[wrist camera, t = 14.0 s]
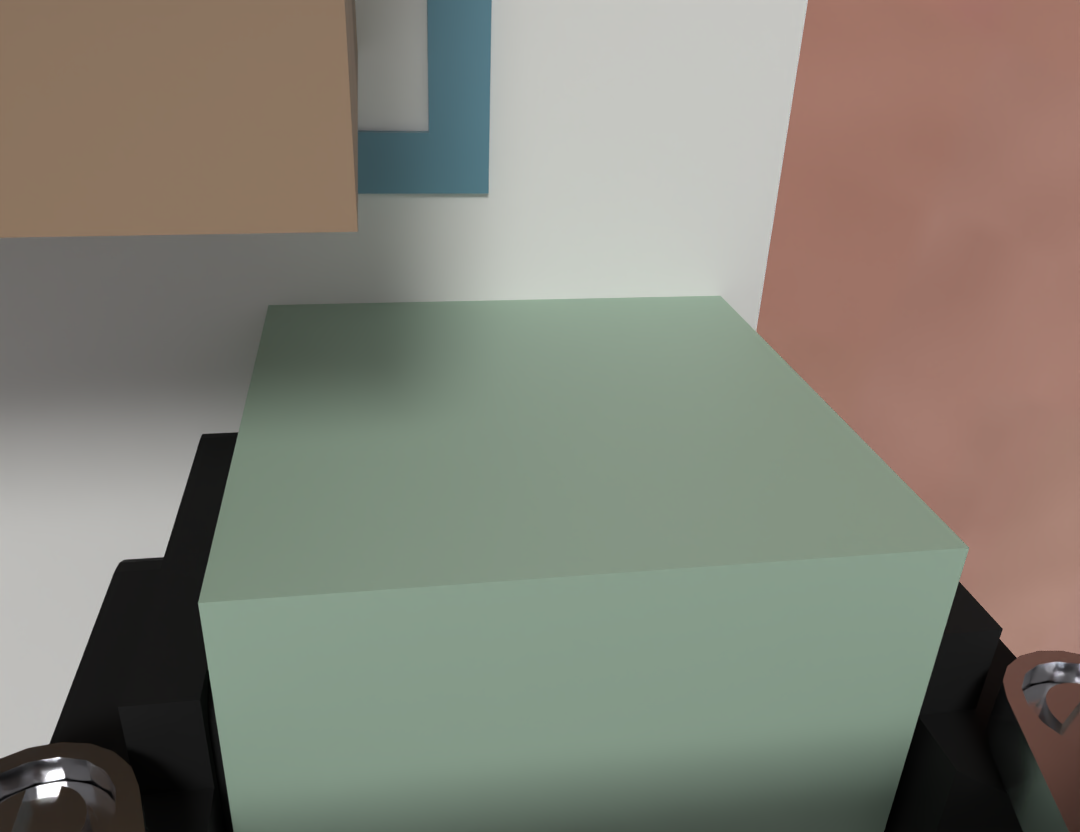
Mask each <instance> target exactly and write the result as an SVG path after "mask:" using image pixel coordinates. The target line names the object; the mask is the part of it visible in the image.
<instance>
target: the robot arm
mask: <svg viewBox="0 0 1080 832" xmlns="http://www.w3.org/2000/svg"><path fill="white" fill-rule="evenodd" d="M237 436H238V432H234V433H210V434H202V436H201V438H200V441H199V444H198V447H197V451H196V454H195V457H194V460H193V464H192V467H191V470H190V473H189V477H188V480H187V483H186V487H185V490H184V493H183V496H182V500H181V503H180V506H179V509H178V513H177V516H176V519H175V522H174V526H173V529H172V532H171V535H170V539H169V542H168V545H167V548H166V552H165V555H164V557H157V558H142V559H126V560H123V561H121V562H119V564H118V566H117V568H116V570H115V571H114V574H113V576H112V579H111V582H110V584H109V587H108V590H107V592H106V595H105V598H104V600H103V603H102V606H101V608H100V611H99V614H98V616H97V619H96V621H95V624H94V627H93V629H92V632H91V635H90V637H89V640H88V643H87V645H86V648H85V651H84V653H83V656H82V659H81V661H80V664H79V667H78V669H77V672H76V675H75V677H74V680H73V682H72V685H71V688H70V690H69V693H68V696H67V698H66V701H65V704H64V706H63V709H62V712H61V714H60V717H59V720H58V722H57V725H56V728H55V730H54V733H53V735H52V738H51V741H50V743H49V744H48V745H42V746H36V747H30V748H27V749H24V750H22V751H19V752H16V753H14V754H11V755H8V756H6V757H3V758H0V832H234V831H233V824H232V818H231V812H230V805H229V799H228V792H227V786H226V779H225V773H224V767H223V760H222V754H221V747H220V741H219V734H218V728H217V722H216V715H215V709H214V702H213V696H212V689H211V683H210V677H209V670H208V664H207V657H206V651H205V644H204V638H203V632H202V625H201V619H200V612H199V606H198V601H199V597H200V593H201V589H202V584H203V580H204V576H205V572H206V567H207V563H208V559H209V555H210V550H211V546H212V542H213V538H214V534H215V529H216V525H217V521H218V517H219V512H220V508H221V504H222V500H223V495H224V491H225V487H226V483H227V479H228V474H229V470H230V466H231V462H232V457H233V453H234V449H235V445H236V440H237ZM1001 632H1002V628H1001V627H1000V626H999V625H998V623H997V622H996V621H995V620H994V619H993V618H992V617H991V616H990V615H989V614H988V613H987V611H986V610H985V609H984V608H983V607H982V606H981V605H980V604H979V603H978V602H977V601H976V599H975V598H974V597H973V596H972V595H971V594H970V593H969V592H968V591H967V590H966V589H965V587H964V586H963V585H962V584H961V583H960V582H959V583H958V586H957V590H956V593H955V596H954V600H953V603H952V606H951V610H950V613H949V616H948V620H947V623H946V626H945V630H944V633H943V636H942V640H941V643H940V646H939V650H938V653H937V656H936V660H935V663H934V666H933V670H932V673H931V676H930V680H929V683H928V686H927V690H926V693H925V697H924V700H923V703H922V707H921V710H920V713H919V717H918V720H917V723H916V727H915V730H914V733H913V737H912V740H911V743H910V747H909V750H908V753H907V757H906V760H905V763H904V767H903V770H902V773H901V777H900V780H899V783H898V787H897V790H896V793H895V797H894V800H893V803H892V807H891V810H890V813H889V817H888V820H887V823H886V827H885V830H884V832H1080V654H1075V653H1070V652H1065V651H1036V652H1033V653H1029V654H1025V655H1022V656H1019V657H1018V658H1016V657H1015V656H1014V655H1013V653H1012V652H1011V651H1010V650H1009V649H1008V648H1007V647H1006V646H1005V645H1004V643H1003V642H1002V641H1001V640H1000V639H999V638H1000V635H1001Z"/></svg>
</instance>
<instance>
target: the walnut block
mask: <svg viewBox="0 0 1080 832" xmlns="http://www.w3.org/2000/svg"><path fill="white" fill-rule="evenodd" d="M316 232H358V48H357V29H356V10H355V0H0V238H16V237H76V236H136V235H196V234H256V233H316Z"/></svg>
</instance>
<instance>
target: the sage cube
mask: <svg viewBox="0 0 1080 832" xmlns="http://www.w3.org/2000/svg"><path fill="white" fill-rule="evenodd" d="M968 550H969V547H968V546H967V545H966V544H965V543H964V542H963V541H962V540H961V539H960V538H959V537H958V536H957V535H956V534H955V533H954V532H953V531H952V530H951V529H950V528H949V527H948V526H947V525H946V524H945V523H944V522H943V521H942V520H941V519H940V518H939V517H938V516H937V515H936V514H935V513H934V512H933V511H932V510H931V509H930V508H929V507H928V506H927V505H926V504H925V503H924V502H923V501H922V500H921V498H920V497H919V496H918V495H917V494H916V493H915V492H914V491H913V490H912V489H911V488H910V487H909V486H908V485H907V484H906V483H905V482H904V481H903V480H902V479H901V478H900V477H899V476H898V475H897V474H896V473H895V472H894V471H893V470H892V469H891V468H890V467H889V466H888V465H887V464H886V463H885V462H884V461H883V460H882V459H881V458H880V457H879V456H878V455H877V454H876V453H875V452H874V451H873V450H872V449H871V448H870V447H869V446H868V445H867V444H866V443H865V442H864V441H863V440H862V439H861V438H860V437H859V436H858V435H857V434H856V433H855V432H854V431H853V430H852V429H851V428H850V426H849V425H848V424H847V423H846V422H845V421H844V420H843V419H842V418H841V417H840V416H839V415H838V414H837V413H836V412H835V411H834V410H833V409H832V408H831V407H830V406H829V405H828V404H827V403H826V402H825V401H824V400H823V399H822V398H821V397H820V396H819V395H818V394H817V393H816V392H815V391H814V390H813V389H812V388H811V387H810V386H809V385H808V384H807V383H806V382H805V381H804V380H803V379H802V378H801V377H800V376H799V375H798V374H797V373H796V372H795V371H794V370H793V369H792V368H791V367H790V366H789V365H788V364H787V363H786V362H785V361H784V360H783V359H782V358H781V357H780V356H779V354H778V353H777V352H776V351H775V350H774V349H773V348H772V347H771V346H770V345H769V344H768V343H767V342H766V341H765V340H764V339H763V338H762V337H761V336H760V335H759V334H758V333H757V332H756V331H755V330H754V329H753V328H752V327H751V326H750V325H749V324H748V323H747V322H746V321H745V320H744V319H743V318H742V317H741V316H740V315H739V314H738V313H737V312H736V311H735V310H734V309H733V308H732V307H731V306H730V305H729V304H728V303H727V302H726V301H725V300H724V299H723V298H722V297H721V296H683V297H635V298H586V299H538V300H490V301H442V302H394V303H346V304H298V305H268V309H267V314H266V318H265V322H264V326H263V330H262V335H261V339H260V343H259V347H258V352H257V356H256V360H255V364H254V369H253V373H252V377H251V381H250V385H249V390H248V394H247V398H246V402H245V407H244V411H243V415H242V419H241V424H240V428H239V432H238V436H237V440H236V445H235V449H234V453H233V457H232V462H231V466H230V470H229V474H228V479H227V483H226V487H225V491H224V495H223V500H222V504H221V508H220V512H219V517H218V521H217V525H216V529H215V534H214V538H213V542H212V546H211V550H210V555H209V559H208V563H207V567H206V572H205V576H204V580H203V584H202V589H201V593H200V597H199V601H198V606H199V612H200V619H201V625H202V632H203V638H204V644H205V651H206V657H207V664H208V670H209V677H210V683H211V689H212V696H213V702H214V709H215V715H216V722H217V728H218V734H219V741H220V747H221V754H222V760H223V767H224V773H225V779H226V786H227V792H228V799H229V805H230V812H231V818H232V824H233V831H234V832H884V830H885V827H886V823H887V820H888V817H889V813H890V810H891V807H892V803H893V800H894V797H895V793H896V790H897V787H898V783H899V780H900V777H901V773H902V770H903V767H904V763H905V760H906V757H907V753H908V750H909V747H910V743H911V740H912V737H913V733H914V730H915V727H916V723H917V720H918V717H919V713H920V710H921V707H922V703H923V700H924V697H925V693H926V690H927V686H928V683H929V680H930V676H931V673H932V670H933V666H934V663H935V660H936V656H937V653H938V650H939V646H940V643H941V640H942V636H943V633H944V630H945V626H946V623H947V620H948V616H949V613H950V610H951V606H952V603H953V600H954V596H955V593H956V590H957V586H958V583H959V580H960V576H961V573H962V570H963V566H964V563H965V560H966V556H967V553H968Z"/></svg>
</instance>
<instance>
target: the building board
mask: <svg viewBox="0 0 1080 832" xmlns="http://www.w3.org/2000/svg"><path fill="white" fill-rule="evenodd" d="M807 2H808V0H355V10H356V29H357V48H358V232H316V233H256V234H196V235H136V236H76V237H16V238H0V758H3V757H6V756H8V755H11V754H14V753H16V752H19V751H22V750H24V749H27V748H30V747H36V746H42V745H48V744H49V743H50V741H51V738H52V735H53V733H54V730H55V728H56V725H57V722H58V720H59V717H60V714H61V712H62V709H63V706H64V704H65V701H66V698H67V696H68V693H69V690H70V688H71V685H72V682H73V680H74V677H75V675H76V672H77V669H78V667H79V664H80V661H81V659H82V656H83V653H84V651H85V648H86V645H87V643H88V640H89V637H90V635H91V632H92V629H93V627H94V624H95V621H96V619H97V616H98V614H99V611H100V608H101V606H102V603H103V600H104V598H105V595H106V592H107V590H108V587H109V584H110V582H111V579H112V576H113V574H114V571H115V570H116V568H117V566H118V564H119V562H121V561H123V560H126V559H142V558H157V557H164V555H165V552H166V548H167V545H168V542H169V539H170V535H171V532H172V529H173V526H174V522H175V519H176V516H177V513H178V509H179V506H180V503H181V500H182V496H183V493H184V490H185V487H186V483H187V480H188V477H189V473H190V470H191V467H192V464H193V460H194V457H195V454H196V451H197V447H198V444H199V441H200V438H201V436H202V434H210V433H234V432H239V428H240V424H241V419H242V415H243V411H244V407H245V402H246V398H247V394H248V390H249V385H250V381H251V377H252V373H253V369H254V364H255V360H256V356H257V352H258V347H259V343H260V339H261V335H262V330H263V326H264V322H265V318H266V314H267V309H268V305H298V304H346V303H394V302H442V301H490V300H538V299H586V298H635V297H683V296H721V297H722V298H723V299H724V300H725V301H726V302H727V303H728V304H729V305H730V306H731V307H732V308H733V309H734V310H735V311H736V312H737V313H738V314H739V315H740V316H741V317H742V318H743V319H744V320H745V321H746V322H747V323H748V324H749V325H750V326H751V327H752V328H753V329H754V330H755V331H756V329H757V323H758V316H759V310H760V303H761V297H762V291H763V284H764V278H765V271H766V265H767V259H768V252H769V246H770V239H771V233H772V227H773V220H774V214H775V207H776V201H777V195H778V188H779V182H780V175H781V169H782V163H783V156H784V150H785V143H786V137H787V131H788V124H789V118H790V111H791V105H792V99H793V92H794V86H795V79H796V73H797V67H798V60H799V54H800V47H801V41H802V34H803V28H804V22H805V15H806V9H807Z"/></svg>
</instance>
